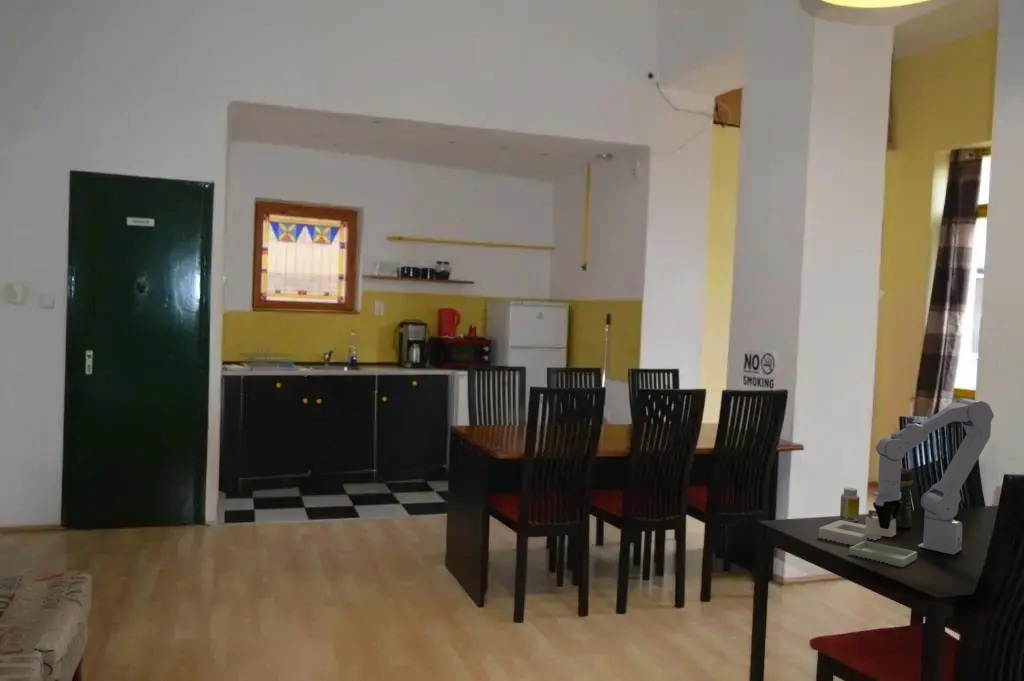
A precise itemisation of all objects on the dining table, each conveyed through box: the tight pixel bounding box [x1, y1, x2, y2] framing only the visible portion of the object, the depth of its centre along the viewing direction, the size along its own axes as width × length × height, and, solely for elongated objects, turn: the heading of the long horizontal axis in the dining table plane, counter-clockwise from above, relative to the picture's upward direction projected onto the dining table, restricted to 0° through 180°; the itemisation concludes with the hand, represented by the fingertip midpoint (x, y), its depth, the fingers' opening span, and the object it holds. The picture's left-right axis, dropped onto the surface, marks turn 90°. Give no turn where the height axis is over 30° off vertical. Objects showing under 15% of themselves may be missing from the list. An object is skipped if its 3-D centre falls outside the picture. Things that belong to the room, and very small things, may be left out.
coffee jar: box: [876, 467, 914, 529], centre depth 256 cm, size 10×8×19 cm
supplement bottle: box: [839, 487, 860, 523], centre depth 260 cm, size 6×6×10 cm
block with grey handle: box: [864, 509, 897, 538], centre depth 232 cm, size 7×4×6 cm, turn 45°
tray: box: [848, 540, 918, 568], centre depth 220 cm, size 14×11×2 cm
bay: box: [818, 519, 882, 546], centre depth 238 cm, size 12×15×3 cm
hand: (887, 526), depth 231 cm, fingers closed on block with grey handle, 4 cm apart
